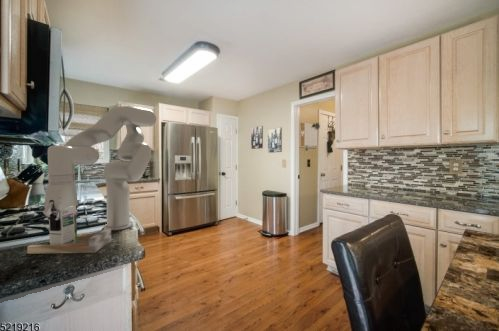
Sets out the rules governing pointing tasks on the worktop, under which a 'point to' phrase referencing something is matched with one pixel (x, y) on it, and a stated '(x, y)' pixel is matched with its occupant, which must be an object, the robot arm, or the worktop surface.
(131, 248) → the worktop surface
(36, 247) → the rail channel
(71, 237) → the syrup box
